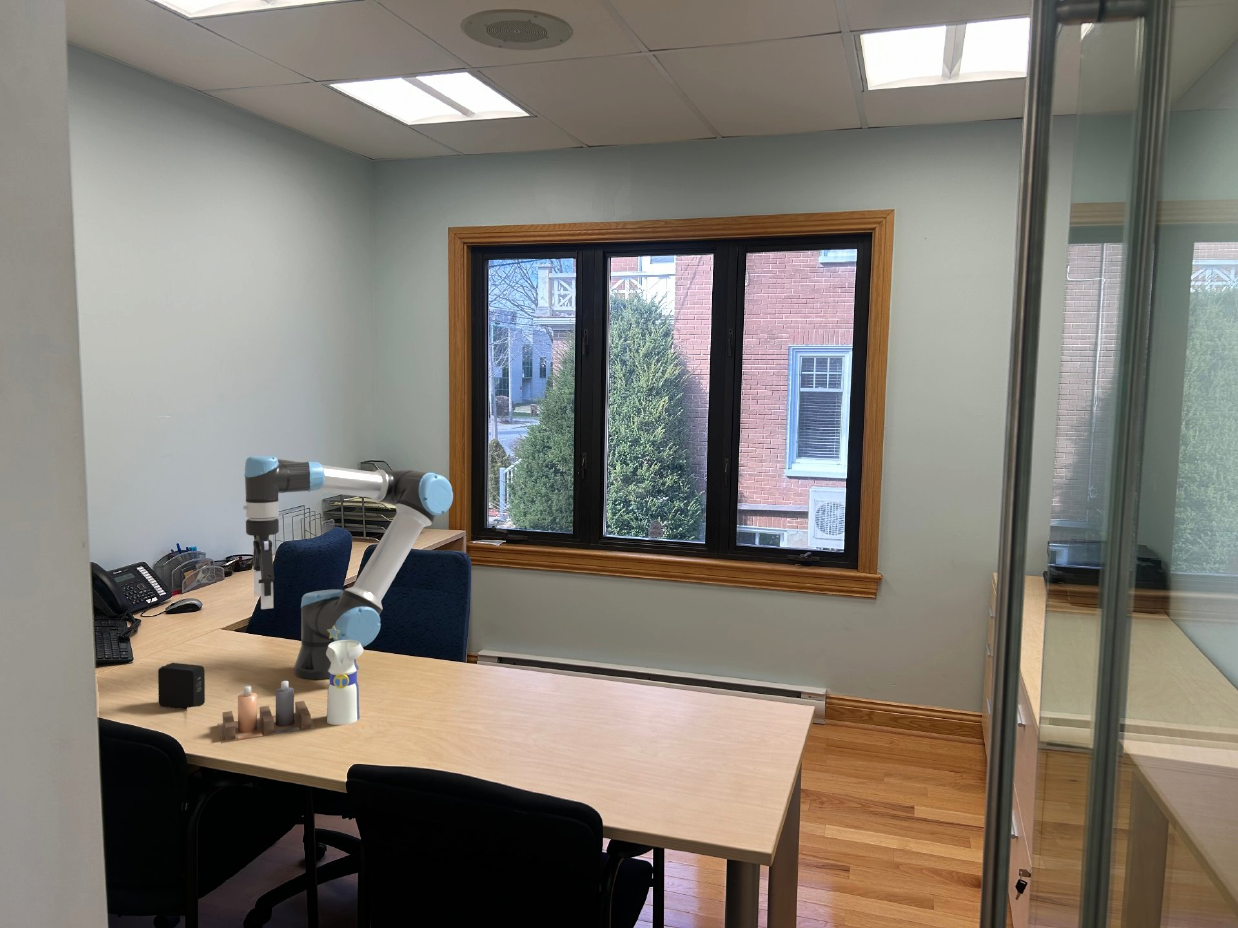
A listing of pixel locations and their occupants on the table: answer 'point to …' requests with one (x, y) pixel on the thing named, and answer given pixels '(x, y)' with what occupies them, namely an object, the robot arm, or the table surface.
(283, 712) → the grey bottle
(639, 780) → the table surface
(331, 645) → the white costume bottle
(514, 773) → the table surface
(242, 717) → the peach bottle
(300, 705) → the rack
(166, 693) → the electronic device
